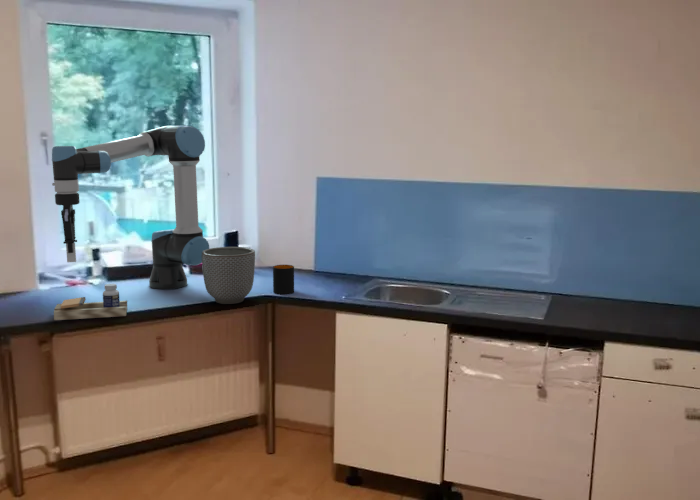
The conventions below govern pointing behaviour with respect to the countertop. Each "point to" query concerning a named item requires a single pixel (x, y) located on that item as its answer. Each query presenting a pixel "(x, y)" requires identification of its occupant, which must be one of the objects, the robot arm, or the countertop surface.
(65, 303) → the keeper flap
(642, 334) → the countertop surface
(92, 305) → the wooden tray
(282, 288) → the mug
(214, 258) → the planter
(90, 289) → the countertop surface
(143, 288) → the countertop surface
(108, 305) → the pill bottle
